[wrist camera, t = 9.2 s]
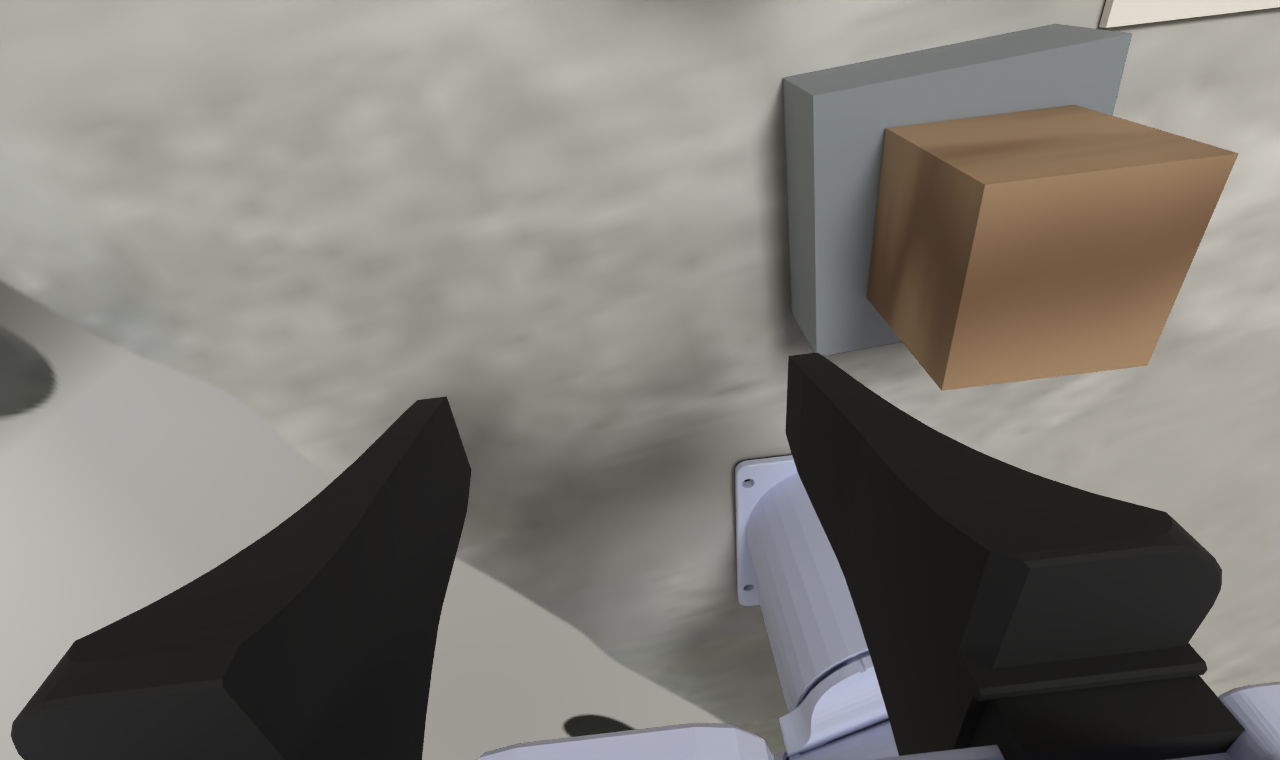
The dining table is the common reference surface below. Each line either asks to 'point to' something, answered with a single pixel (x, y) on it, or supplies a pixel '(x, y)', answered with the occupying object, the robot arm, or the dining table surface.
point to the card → (1173, 10)
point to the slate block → (898, 96)
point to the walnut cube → (1036, 241)
